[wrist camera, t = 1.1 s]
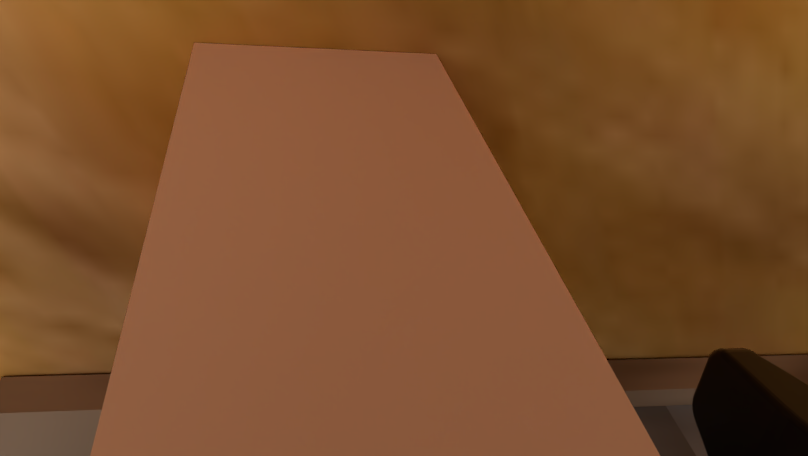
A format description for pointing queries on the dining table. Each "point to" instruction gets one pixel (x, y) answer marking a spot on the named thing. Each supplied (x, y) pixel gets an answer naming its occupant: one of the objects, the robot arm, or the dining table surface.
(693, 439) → the keyhole board
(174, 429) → the peg
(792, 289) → the dining table surface
